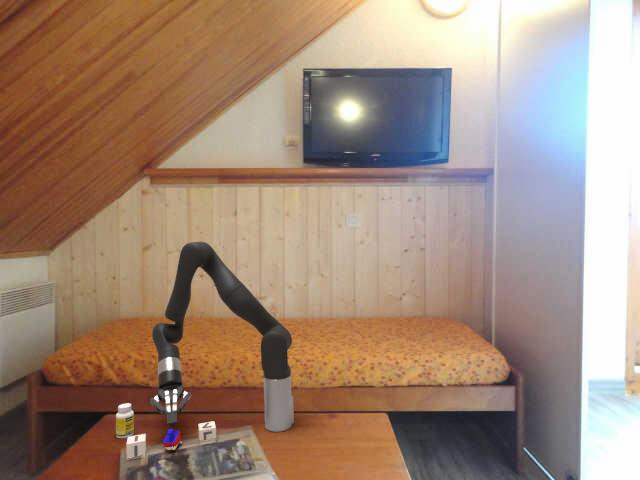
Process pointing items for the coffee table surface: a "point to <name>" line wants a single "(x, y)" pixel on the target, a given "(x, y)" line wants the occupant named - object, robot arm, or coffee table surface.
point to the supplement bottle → (124, 421)
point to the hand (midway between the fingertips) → (172, 425)
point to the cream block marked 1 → (136, 445)
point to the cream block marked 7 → (207, 430)
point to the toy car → (172, 438)
